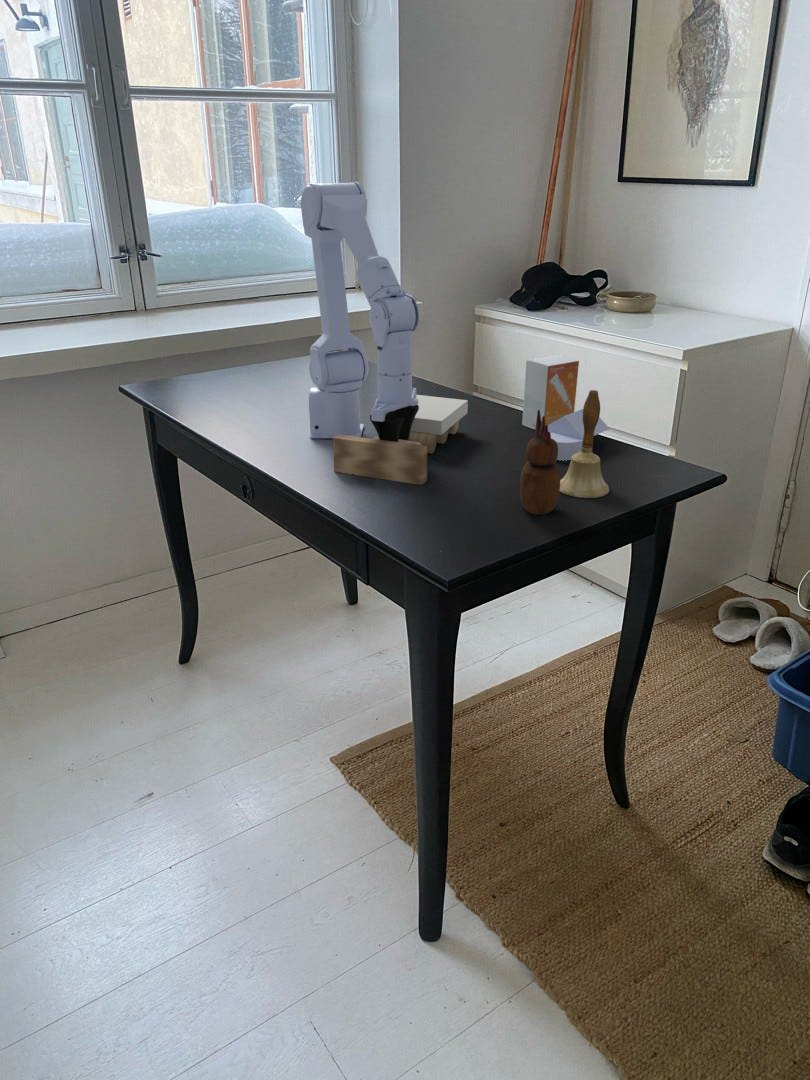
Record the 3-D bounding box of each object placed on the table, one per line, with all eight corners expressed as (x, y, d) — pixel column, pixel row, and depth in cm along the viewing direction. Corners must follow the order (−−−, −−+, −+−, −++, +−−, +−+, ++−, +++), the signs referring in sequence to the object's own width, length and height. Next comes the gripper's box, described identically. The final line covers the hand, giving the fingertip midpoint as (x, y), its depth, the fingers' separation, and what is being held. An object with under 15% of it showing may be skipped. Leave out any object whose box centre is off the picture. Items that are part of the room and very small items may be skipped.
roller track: (366, 466, 140) (366, 444, 138) (420, 425, 161) (420, 406, 159) (409, 472, 137) (409, 450, 136) (458, 430, 158) (459, 410, 156)
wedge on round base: (566, 436, 155) (525, 452, 146) (569, 401, 152) (527, 416, 143) (608, 446, 149) (568, 464, 141) (611, 410, 146) (571, 427, 138)
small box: (543, 433, 156) (548, 365, 150) (521, 425, 161) (525, 359, 155) (574, 426, 160) (580, 360, 154) (551, 418, 165) (556, 353, 159)
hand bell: (583, 476, 136) (592, 381, 129) (620, 491, 130) (632, 393, 123) (545, 486, 132) (552, 389, 125) (581, 502, 125) (591, 401, 119)
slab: (379, 426, 147) (378, 413, 146) (408, 406, 159) (408, 393, 158) (441, 434, 143) (441, 420, 142) (467, 413, 155) (467, 400, 153)
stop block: (334, 471, 138) (332, 437, 135) (339, 467, 140) (338, 434, 137) (422, 485, 132) (422, 449, 130) (426, 480, 134) (427, 446, 131)
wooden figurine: (516, 501, 126) (522, 406, 120) (554, 501, 126) (561, 407, 119) (520, 519, 120) (527, 420, 113) (560, 519, 120) (568, 420, 113)
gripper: (399, 385, 127) (400, 467, 133) (433, 364, 139) (432, 440, 145) (358, 380, 129) (361, 461, 135) (395, 360, 142) (395, 435, 147)
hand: (395, 450), depth 140 cm, fingers open, 4 cm apart
